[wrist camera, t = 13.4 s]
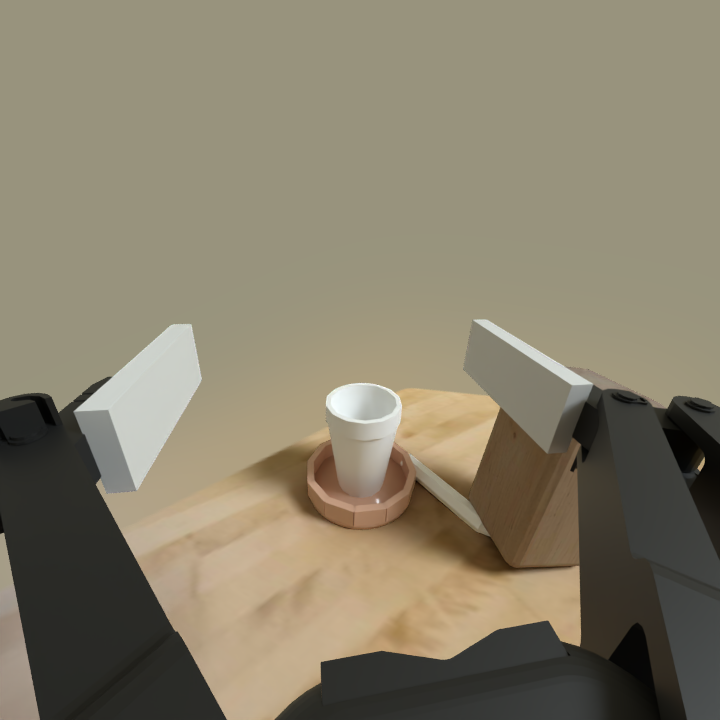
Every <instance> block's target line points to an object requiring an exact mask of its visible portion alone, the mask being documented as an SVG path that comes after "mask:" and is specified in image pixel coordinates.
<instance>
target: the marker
mask: <svg viewBox="0 0 720 720" xmlns="http://www.w3.org/2000/svg"><path fill="white" fill-rule="evenodd" d="M409 455H410V458H411V460H412V463H413V465H414V467H415V470H416V479H415V480H417V481H418V482H419V483H420V484H421V485H422V486H423V487H425V488H426V489H427V490H428V491H429V492H430V493H432V494H433V495H434V496H435V497H436V498H437V499H438V500H440V501H441V502H442V503H443V504H444V505H445V506H447V507H448V508H449V509H450V510H451V511H452V512H453V513H455V514H456V515H457V516H458V517H459V518H460V519H462V520H463V521H464V522H465V523H466V524H468V525H469V526H470V527H471V528H472V529H473V530H475V531H476V532H477V533H478V532H479V533H482V534H484V535H487V536H489V537H490V535H489V533H488V532H487V530H486V528H485V527H484V525H483V524H482V522H481V519H480V517H479V516H478V514H477V512H476V511H475V509H474V507H473V506H472V504H471V502H470V501H468V500H467V499H466V498H465V497H463V496H462V495H461V494H460V493H458V492H457V491H456V490H455V489H453V488H452V487H451V486H450V485H449V484H447V483H446V482H445V481H444V480H442V479H441V478H440V477H439V476H437V475H436V474H435V473H434V472H432V471H431V470H430V469H429V468H427V467H426V466H425V465H424V464H422V463H421V462H420V461H419V460H417V459H416V458H415V457H414V456H412V455H411V454H409ZM400 464H401V466H402V465H403V463H402V461H401V463H400Z"/></svg>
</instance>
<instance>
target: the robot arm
mask: <svg viewBox="0 0 720 720" xmlns="http://www.w3.org/2000/svg"><path fill="white" fill-rule="evenodd" d="M463 370H464V371H465V372H467V374H468V375H469V376H470V377H471V378H472V379H473V380H474V381H475V382H476V383H478V385H480V387H481V388H482V389H483V390H484V391H485V392H486V393H487V394H488V395H489V396H490V397H491V398H492V399H493V400H494V401H495V402H496V403H497V404H498V405H499V406H500V407H501V408H502V409H503V410H504V411H505V412H506V413H507V414H508V415H509V416H510V417H511V418H512V419H513V420H514V421H515V422H516V423H517V424H518V425H519V426H520V427H521V428H522V429H523V430H524V431H525V432H526V433H527V434H528V435H529V436H530V437H531V438H532V439H533V440H534V441H535V442H536V443H537V444H538V445H539V446H540V447H541V448H542V449H543V450H544V451H545V452H546V453H547V454H552V453H563V452H567V450H568V447H569V445H570V442H571V440H572V437H573V438H574V439H575V440H576V441H577V442H578V443H580V444H581V445H580V448H579V450H578V453H577V455H576V457H575V460H574V462H573V465H572V467H571V470H570V471H572V472H574V470H575V469H577V480H578V522H579V563H580V605H581V644H580V647H579V646H575V645H572V644H568V643H565V642H562V641H560V640H559V638H558V636H557V635H556V633H555V631H554V630H553V628H552V626H551V625H550V623H549V621H543V622H537V623H532V624H526V625H521V626H515V627H510V628H504V629H499V630H496V631H495V632H493V633H491V634H490V635H488V636H487V637H485V638H483V639H482V640H480V641H478V642H477V643H475V644H474V645H472V646H470V647H469V648H467V649H466V650H464V651H462V652H461V653H459V654H458V655H456V656H454V657H453V658H451V659H447V660H440V659H433V658H426V657H419V656H412V655H406V654H399V653H392V652H385V651H379V652H373V653H368V654H362V655H357V656H351V657H346V658H340V659H335V660H330V661H324V662H321V683H320V684H318V685H316V686H315V687H313V688H311V689H309V690H308V691H306V692H305V693H304V694H302V695H301V696H300V697H298V698H297V699H296V700H294V701H293V702H292V703H291V704H290V705H289V706H288V707H287V708H286V709H285V710H284V711H283V712H282V713H281V714H280V715H279V716H278V717H277V718H276V719H275V720H720V407H718V406H716V405H714V404H712V403H711V402H709V401H706V400H703V399H700V398H692V397H686V396H676V397H674V398H673V399H672V401H671V403H670V405H669V407H668V409H665V408H656V407H653V406H652V404H651V403H650V402H649V401H648V400H646V399H645V398H643V397H641V396H639V395H637V394H634V393H632V392H629V391H625V390H619V389H605V390H601V389H600V388H598V387H596V386H595V385H593V384H592V383H591V382H589V381H587V380H586V379H584V378H582V377H581V376H579V375H577V374H576V373H574V372H572V371H571V370H569V369H568V368H566V367H564V366H563V365H561V364H559V363H558V362H556V361H554V360H553V359H551V358H549V357H548V356H546V355H544V354H543V353H541V352H539V351H538V350H536V349H534V348H533V347H531V346H529V345H528V344H526V343H524V342H523V341H521V340H520V339H518V338H516V337H515V336H513V335H511V334H510V333H508V332H506V331H504V330H503V329H501V328H500V327H498V326H496V325H495V324H493V323H491V322H490V321H488V320H472V325H471V331H470V336H469V341H468V346H467V351H466V357H465V362H464V367H463ZM201 381H202V378H201V372H200V367H199V362H198V357H197V352H196V346H195V341H194V336H193V331H192V326H191V324H172V325H171V326H170V327H168V328H167V329H166V330H165V331H164V332H163V333H162V334H161V335H159V336H158V337H157V338H156V339H155V340H154V341H153V342H152V343H151V344H149V345H148V346H147V347H146V348H145V349H144V350H143V351H141V352H140V353H139V354H138V355H137V356H136V357H135V358H134V359H132V360H131V361H130V362H129V363H128V364H127V365H126V366H124V368H122V369H121V370H120V371H119V372H118V373H117V374H115V375H114V376H113V377H107V378H105V379H103V380H101V381H99V382H97V383H95V384H93V385H91V386H90V387H89V388H88V389H87V390H86V391H84V392H83V393H82V395H80V396H79V397H77V398H76V399H75V400H74V402H71V403H70V404H69V405H68V406H66V407H65V408H64V409H63V410H62V411H60V412H59V413H58V411H57V409H56V407H55V404H54V402H53V400H52V397H50V396H49V395H48V394H42V393H31V394H23V395H18V396H13V397H9V398H6V399H3V400H0V534H1V533H4V534H5V539H6V545H7V550H8V555H9V560H10V565H11V571H12V576H13V581H14V586H15V591H16V597H17V602H18V607H19V612H20V617H21V623H22V628H23V633H24V638H25V643H26V649H27V654H28V659H29V664H30V669H31V675H32V680H33V685H34V690H35V696H36V701H37V706H38V711H39V716H40V720H227V719H226V717H225V716H224V714H223V712H222V710H221V708H220V706H219V705H218V703H217V701H216V699H215V697H214V695H213V694H212V692H211V690H210V688H209V686H208V684H207V683H206V681H205V679H204V677H203V675H202V674H201V672H200V670H199V668H198V666H197V664H196V663H195V661H194V659H193V657H192V655H191V653H190V652H189V650H188V648H187V646H186V645H185V643H184V641H183V639H182V638H181V636H180V635H179V633H178V632H175V630H174V629H173V627H172V626H171V624H170V622H169V620H168V618H167V617H166V615H165V613H164V611H163V609H162V607H161V605H160V604H159V602H158V600H157V598H156V596H155V594H154V592H153V590H152V589H151V587H150V585H149V583H148V581H147V579H146V577H145V576H144V574H143V572H142V570H141V568H140V566H139V564H138V563H137V561H136V559H135V557H134V555H133V553H132V551H131V550H130V548H129V546H128V544H127V542H126V540H125V538H124V537H123V535H122V533H121V531H120V529H119V527H118V525H117V524H116V522H115V520H114V518H113V516H112V514H111V512H110V511H109V509H108V507H107V505H106V503H105V501H104V499H103V497H102V496H101V494H100V492H99V490H98V488H97V486H96V483H97V482H98V480H99V479H100V478H101V480H102V483H103V485H104V488H105V490H106V493H107V494H108V493H118V492H130V491H137V489H138V488H139V486H140V484H141V483H142V481H143V479H144V478H145V476H146V474H147V472H148V471H149V469H150V467H151V466H152V464H153V462H154V461H155V459H156V457H157V456H158V454H159V452H160V450H161V449H162V447H163V445H164V444H165V442H166V440H167V438H168V437H169V435H170V433H171V432H172V430H173V428H174V427H175V425H176V423H177V421H178V420H179V418H180V416H181V415H182V413H183V411H184V410H185V408H186V406H187V405H188V403H189V401H190V399H191V398H192V396H193V394H194V393H195V391H196V389H197V387H198V386H199V384H200V382H201ZM704 457H705V464H704V466H703V468H702V470H701V471H699V470H698V469H697V468H698V466H699V465H700V463H701V462H702V460H703V458H704ZM321 691H322V695H321Z"/></svg>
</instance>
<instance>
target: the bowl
mask: <svg viewBox="0 0 720 720" xmlns="http://www.w3.org/2000/svg"><path fill="white" fill-rule="evenodd" d="M401 461H402V463H403V465H402V466H401V464H400V463H401ZM415 479H416V470H415V467H414V465H413V463H412V460H411V458H410V455H409V453H408V452H407V451H406V450H404V449H403V448H402V447H400V446H399V445H397V444H396V443H395V442H394V443H393V447H392V451H391V455H390V459H389V463H388V467H387V470H386V474H385V478H384V481H383V485H382V487H381V489H380V491H378V492H377V493H375V494H374V495H372V496H369V497H364V498H359V497H354V496H350V495H349V494H347V493H345V492H344V491H343V490H342V489H341V487H340V485H339V481H338V478H337V472H336V466H335V460H334V455H333V449H332V443H331V439H330V440H328V441H326V442H324V443H322V444H320V445H319V447H318V448H317V449H316V450H315V452H314V453H313V454H312V455H311V457H310V458H309V459H308V461H307V485H308V496H309V497H310V499H311V501H312V504H313V505H314V507H315V508H316V510H317V511H318V512H319V513H320V514H321V515H322V516H323V517H325V518H326V519H327V520H329V521H331V522H332V523H334V524H337V525H339V526H342V527H346V528H351V529H361V530H362V529H373V528H378V527H381V526H384V525H386V524H388V523H391V522H392V521H394V520H395V519H397V518H398V517H399V516H400V515H401V514H402V513H403V512H404V511H405V510H406V508H407V507H408V505H409V503H410V500H411V496H412V492H413V489H414V486H415Z"/></svg>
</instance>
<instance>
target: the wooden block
mask: <svg viewBox="0 0 720 720" xmlns="http://www.w3.org/2000/svg"><path fill="white" fill-rule="evenodd" d="M564 367H565V366H564ZM566 368H568V369H569V370H571V371H572V372H574V373H576V374H577V375H579V376H581V377H582V378H584V379H586V380H587V381H589V382H591V383H592V384H593V385H595V386H596V387H598V388H600V389H601V390H605V389H619V390H625V391H629V392H632V393H634V394H637V395H639V396H641V397H643V398H645V399H646V400H648V401H649V402H650V403H651V404H652V406H653V407H656V408H665V407H664V406H663V405H661V404H660V403H658V402H656V401H654V400H652V399H650V398H648V397H646V396H643V395H641V394H639V393H637V392H635V391H633V390H631V389H629V388H627V387H624V386H622V385H620V384H618V383H616V382H614V381H612V380H610V379H608V378H606V377H604V376H601V375H599V374H597V373H595V372H593V371H591V370H589V369H582V368H573V367H566ZM665 409H666V408H665ZM580 445H581V444H580V443H578V442H577V441H576V440H575V439H574V438H573V437H572V440H571V442H570V445H569V447H568V450H567V452H563V453H552V454H547V453H546V452H545V451H544V450H543V449H542V448H541V447H540V446H539V445H538V444H537V443H536V442H535V441H534V440H533V439H532V438H531V437H530V436H529V435H528V434H527V433H526V432H525V431H524V430H523V429H522V428H521V427H520V426H519V425H518V424H517V423H516V422H515V421H514V420H513V419H512V418H511V417H510V416H509V415H508V414H507V413H506V412H505V411H504V410H503V409H502V408H500V410H499V413H498V416H497V419H496V421H495V424H494V427H493V430H492V432H491V435H490V438H489V441H488V444H487V446H486V449H485V452H484V455H483V457H482V460H481V463H480V466H479V468H478V471H477V474H476V477H475V479H474V482H473V485H472V488H471V490H470V493H469V501H470V502H471V504H472V506H473V507H474V509H475V511H476V512H477V514H478V516H479V517H480V519H481V522H482V524H483V525H484V527H485V528H486V530H487V532H488V533H489V535H490V537H491V538H492V540H493V542H494V543H495V545H496V546H497V548H498V550H499V551H500V553H501V555H502V556H503V558H504V560H505V561H506V562H507V563H508V564H509V565H510V566H513V567H515V568H519V567H550V566H580V563H579V522H578V480H577V469H575V470H574V472H572V471H570V470H571V467H572V465H573V462H574V460H575V457H576V455H577V453H578V450H579V448H580Z"/></svg>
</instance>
